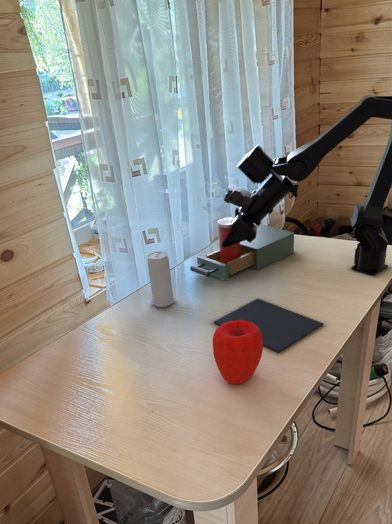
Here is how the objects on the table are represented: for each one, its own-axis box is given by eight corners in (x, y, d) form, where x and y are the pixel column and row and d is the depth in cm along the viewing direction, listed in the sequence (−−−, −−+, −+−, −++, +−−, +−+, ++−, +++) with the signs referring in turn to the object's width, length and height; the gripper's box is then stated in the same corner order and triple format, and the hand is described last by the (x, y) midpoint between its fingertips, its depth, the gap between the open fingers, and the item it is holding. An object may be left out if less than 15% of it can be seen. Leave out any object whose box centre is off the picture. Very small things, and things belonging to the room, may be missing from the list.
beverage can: (177, 300, 121) (171, 252, 115) (167, 309, 117) (161, 260, 111) (159, 297, 123) (153, 250, 117) (149, 306, 119) (142, 258, 113)
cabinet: (257, 269, 132) (257, 249, 129) (227, 259, 139) (226, 240, 136) (293, 252, 140) (294, 232, 137) (263, 243, 147) (262, 224, 144)
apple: (262, 394, 88) (261, 340, 82) (211, 392, 90) (207, 339, 84) (264, 365, 95) (264, 314, 90) (218, 363, 97) (214, 313, 91)
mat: (323, 325, 106) (323, 323, 106) (278, 353, 98) (278, 351, 98) (257, 300, 118) (257, 298, 117) (213, 323, 110) (213, 321, 110)
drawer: (212, 286, 124) (211, 272, 122) (185, 276, 130) (184, 262, 128) (261, 263, 133) (261, 249, 131) (234, 254, 140) (233, 241, 138)
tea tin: (245, 261, 132) (244, 220, 126) (230, 268, 129) (228, 226, 123) (230, 257, 136) (228, 216, 130) (215, 263, 133) (213, 222, 127)
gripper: (246, 163, 128) (205, 209, 135) (239, 184, 112) (193, 233, 120) (278, 194, 130) (236, 237, 138) (275, 218, 115) (229, 264, 123)
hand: (224, 242), depth 130 cm, fingers closed on tea tin, 5 cm apart
